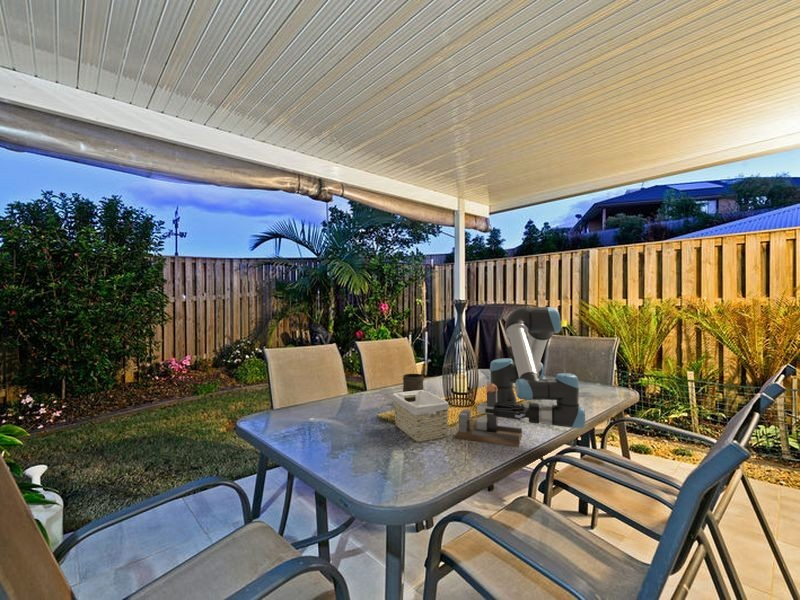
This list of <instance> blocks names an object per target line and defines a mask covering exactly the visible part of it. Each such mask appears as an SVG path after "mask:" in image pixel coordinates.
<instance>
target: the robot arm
mask: <svg viewBox="0 0 800 600" xmlns="http://www.w3.org/2000/svg"><path fill="white" fill-rule="evenodd" d="M561 321H562V320H561V315H560V312H559V310H558V308H556V307H551V306H550V307H549V306H540V307H539V306H537V307H536V306H535V307H534V306H532V307H526V306H525V307H519V308H516V309H515V310H513V311H512V312H511V313H510V314H509V315H508V317H507V319H506V321H505V324H504V331H505V335H506V337H507V338H508V339H509V342H510V346H511V350H512V355H513V359H514V360H513V359H512V358H511V357H509V358H498V359H493V360H492V361H491V362H490V364H489V365H490V367H489V372H490V377H489V379H490V383H493V384H495V385H496V386H497V388H498V390H497V408H495V406H494V407H489V406H487V402H479V403H478V404H479V405H477V406H476V408H477V410H476V411H477V412H476V413H478V414H486V415H487V414H494V415H495V416H496V417H498V418H504V419H511V420H512V419H513V420H517V421H521V420H522V419H525V418H526V419H528V422H529V423H530V424H536V425H539V424H541V425H544V426H545V425H546V426H547V427H550V426H555V427H556V426H557V427H565V428H570V429H584V428H585V426H586V409H585V408H584V407H581V406H580V404H579V394H580V393H579V391H580V387H579V378H578V376H577V375H576V374H573V373H569V372H567V373H565V372H562V373H561V372H560V373H556V374H555V378H550V379H549V378H545V379H544V376H545V375H544V373H545V368H544V364H543V363H542V362H541V361H542V357H543V354H544V352H545V349H546V346H547V342H548V340H550V339H552V338H553V335H554V334H558V333H560V332H561V329H562V322H561ZM490 383H489V384H490ZM514 384H515V388H514V387H513V385H514ZM514 389H515V391H514ZM517 398H518V399H519V400H525V401H526V400H527V401H538V400H539V401H541V400H542V401H555V402H556V404H552V403H551V404H549V403H538V402H535V403H534V402H530V403H529V404H528V407H527V406H525V405H524V404H522V403H517Z"/></svg>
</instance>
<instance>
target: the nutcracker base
mask: <svg viewBox="0 0 800 600" xmlns="http://www.w3.org/2000/svg"><path fill="white" fill-rule="evenodd" d="M469 419H472V418H471V409H465V408H463V409H462V410H461V411H460V412H459V413H458V431H457V432H456V434H455V436H456V439H457V440H459V439H460V440H465V441H466V440H467V441H474V442H480V443H487V444H488V443H489V444H496V445H501V444H503V446H509V445H512V446H511V447H516V446H519V447H520V445H521V442H520V441H521V440H522V438H523V429H522V428H521V427H513V426H507V425H499V424H498V431H497V433H494V432H486V431H478V430H472V432H471V431H469V430H468V420H469Z"/></svg>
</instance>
